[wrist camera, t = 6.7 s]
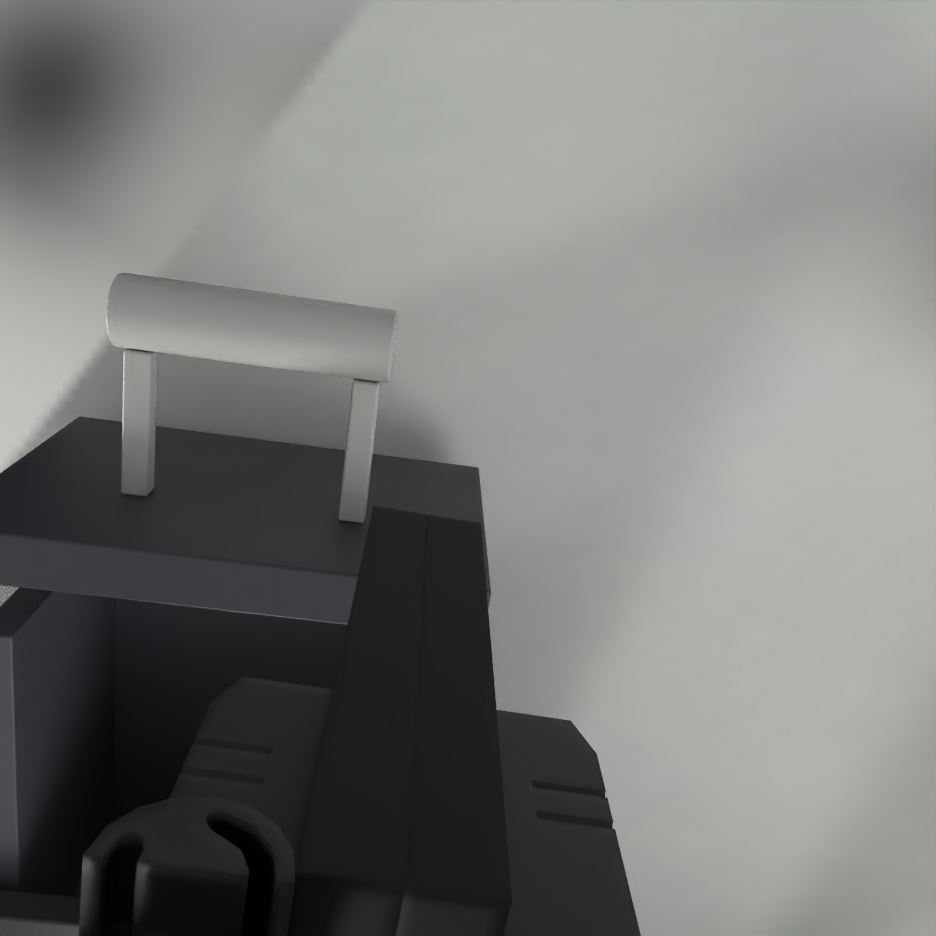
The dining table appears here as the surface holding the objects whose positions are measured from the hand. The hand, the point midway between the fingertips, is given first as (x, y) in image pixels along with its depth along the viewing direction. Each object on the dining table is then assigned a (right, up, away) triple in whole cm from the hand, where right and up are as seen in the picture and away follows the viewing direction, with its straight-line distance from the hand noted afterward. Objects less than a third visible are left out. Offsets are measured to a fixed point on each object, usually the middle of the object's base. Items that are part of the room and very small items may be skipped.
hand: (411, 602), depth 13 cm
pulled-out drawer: (-5, -1, +14) cm, 15 cm away
